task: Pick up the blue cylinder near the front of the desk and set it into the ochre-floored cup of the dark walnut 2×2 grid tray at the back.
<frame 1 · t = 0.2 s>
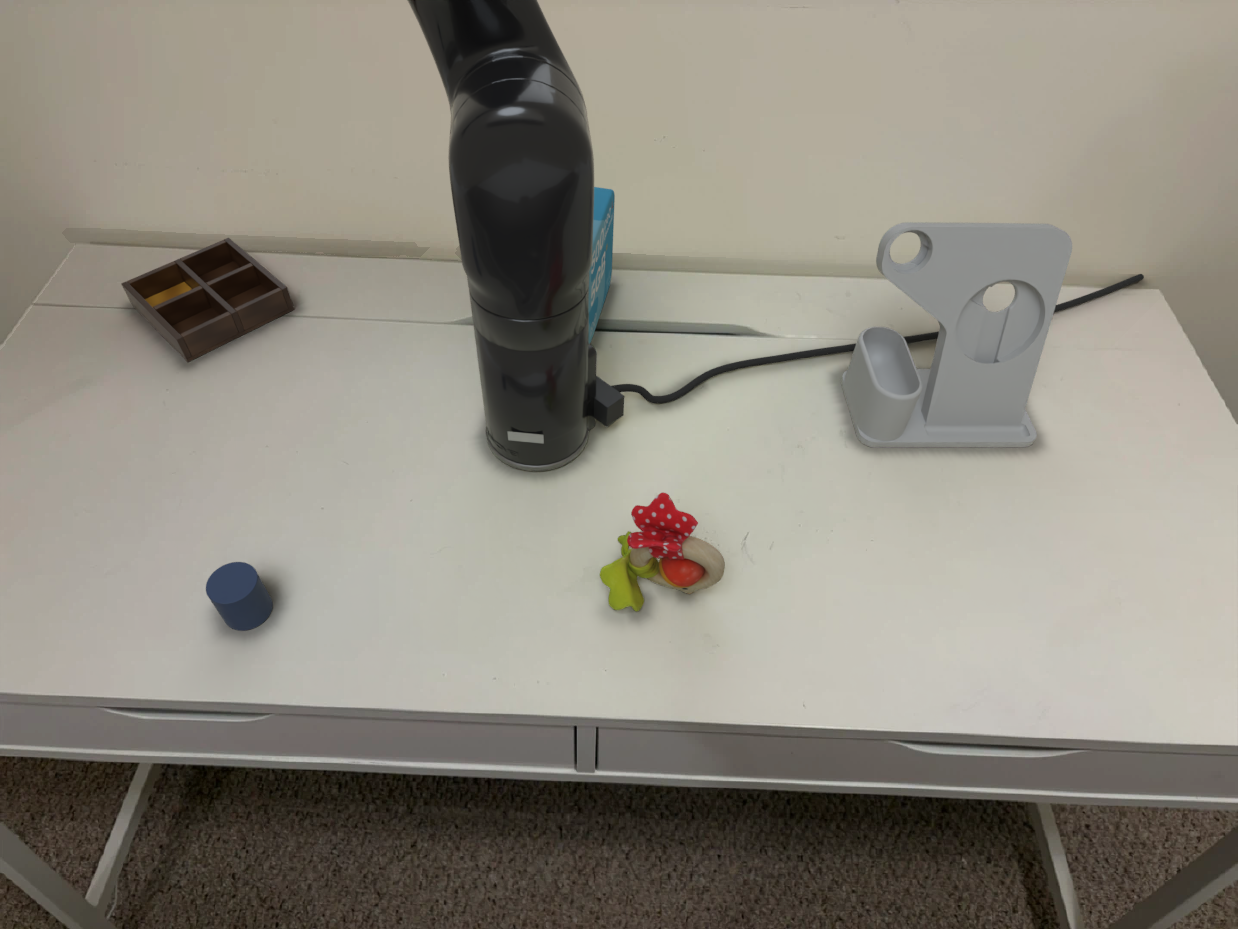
phone holder: (931, 409, 80), on the table
blue cylinder: (248, 610, 63), on the table
data package: (579, 313, 88), on the table
grid: (213, 307, 86), on the table
bird rattle: (659, 587, 66), on the table
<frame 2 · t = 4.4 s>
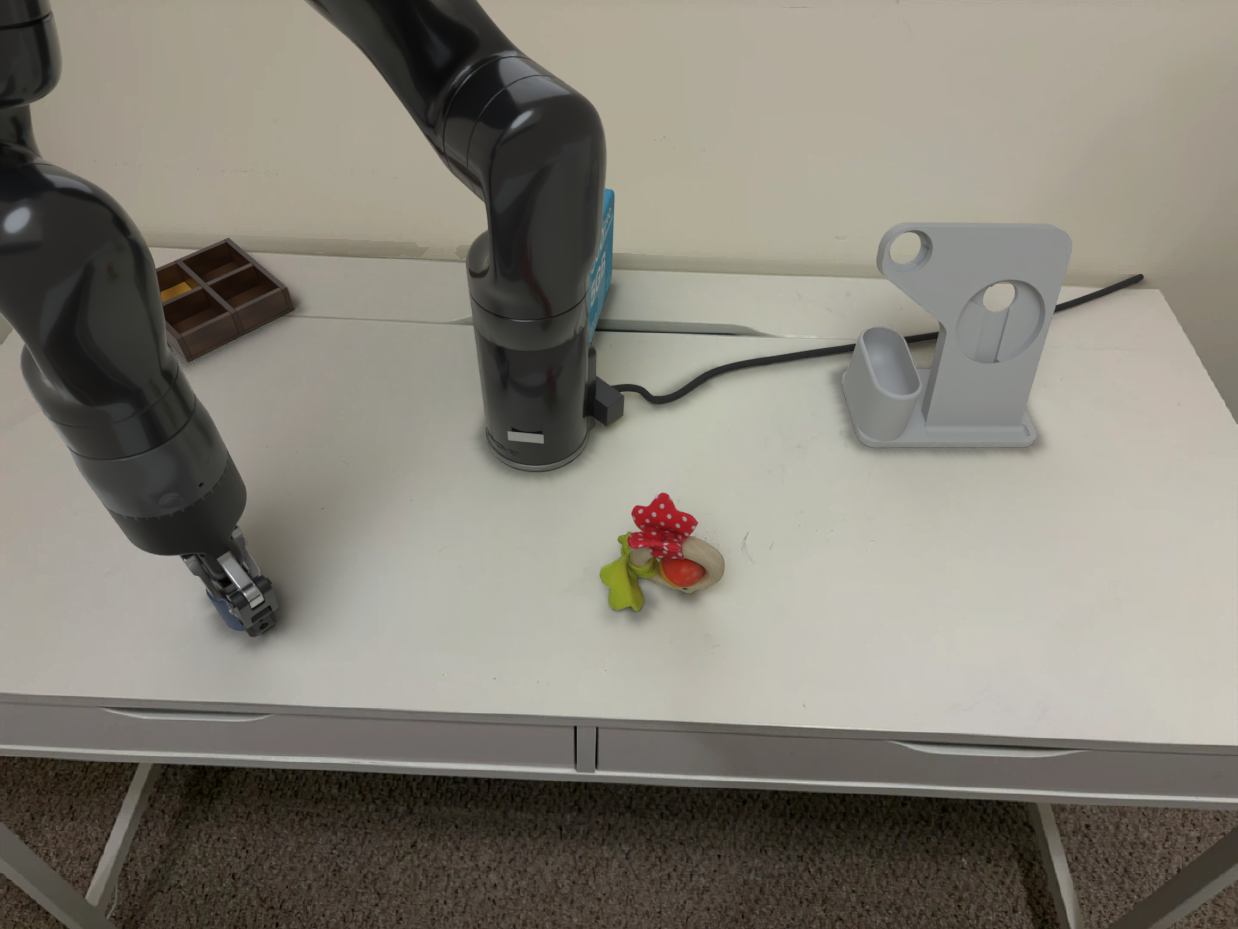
hand: (247, 608, 63), 0 cm above the table, tool pointing down, fingers closed on blue cylinder, 3 cm apart
blue cylinder: (248, 610, 63), on the table, touching gripper
everything else where it was.
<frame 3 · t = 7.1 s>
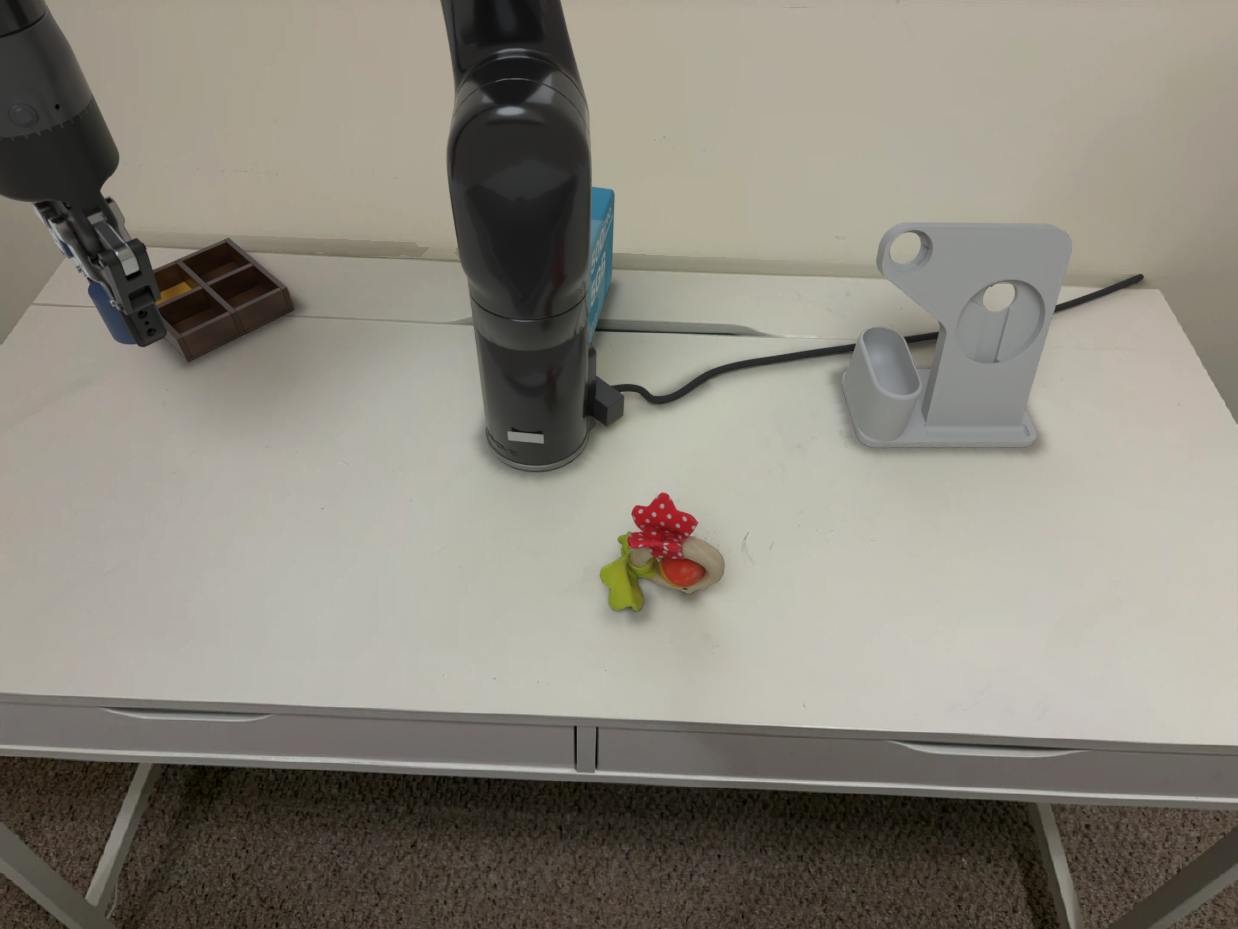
hand: (137, 325, 61), 15 cm above the table, tool pointing down, fingers closed on blue cylinder, 3 cm apart
blue cylinder: (138, 328, 61), point 15 cm above the table, touching gripper
everything else where it was.
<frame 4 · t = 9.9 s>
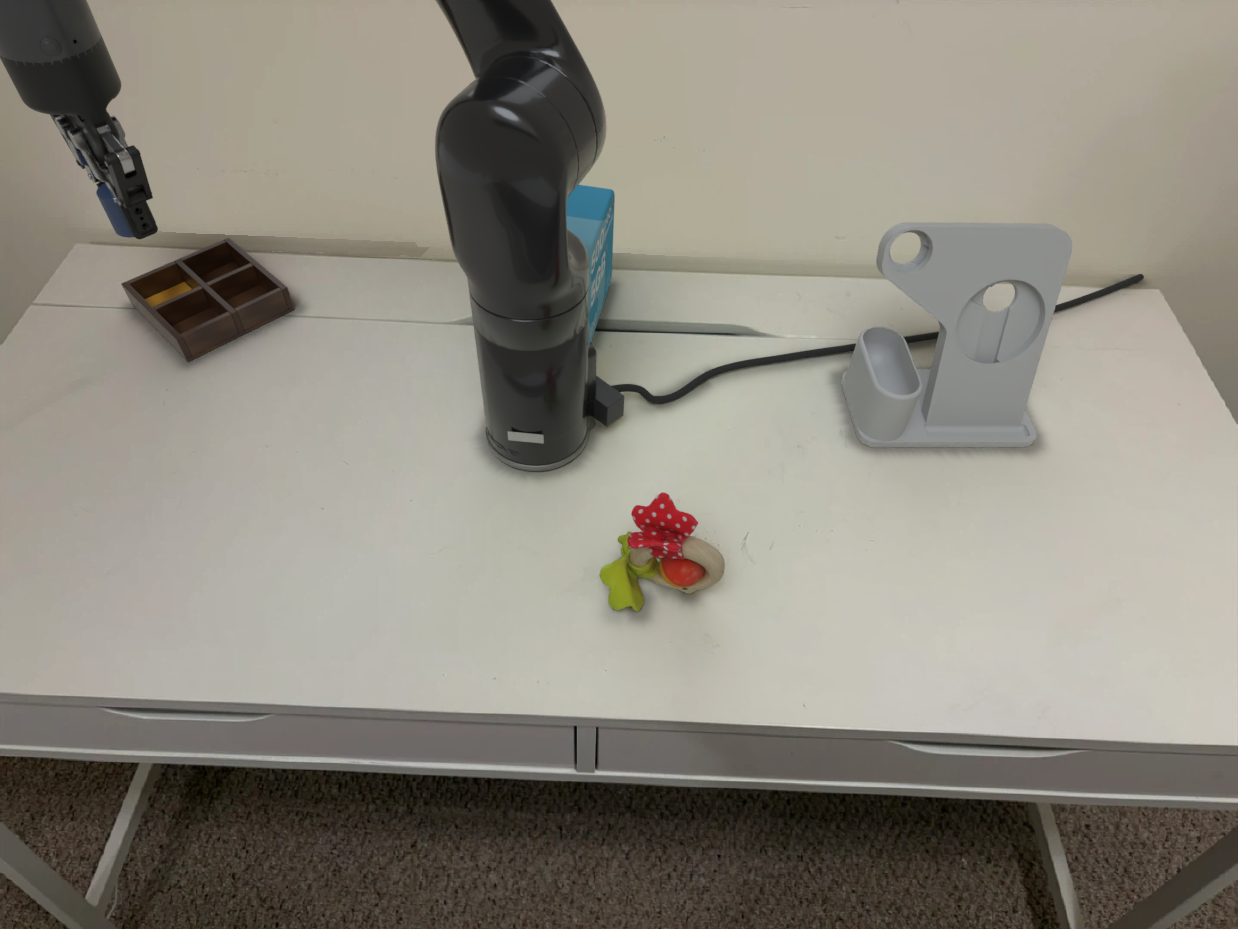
hand: (135, 224, 78), 10 cm above the table, tool pointing down, fingers closed on blue cylinder, 3 cm apart
blue cylinder: (135, 226, 78), point 10 cm above the table, touching gripper
everything else where it was.
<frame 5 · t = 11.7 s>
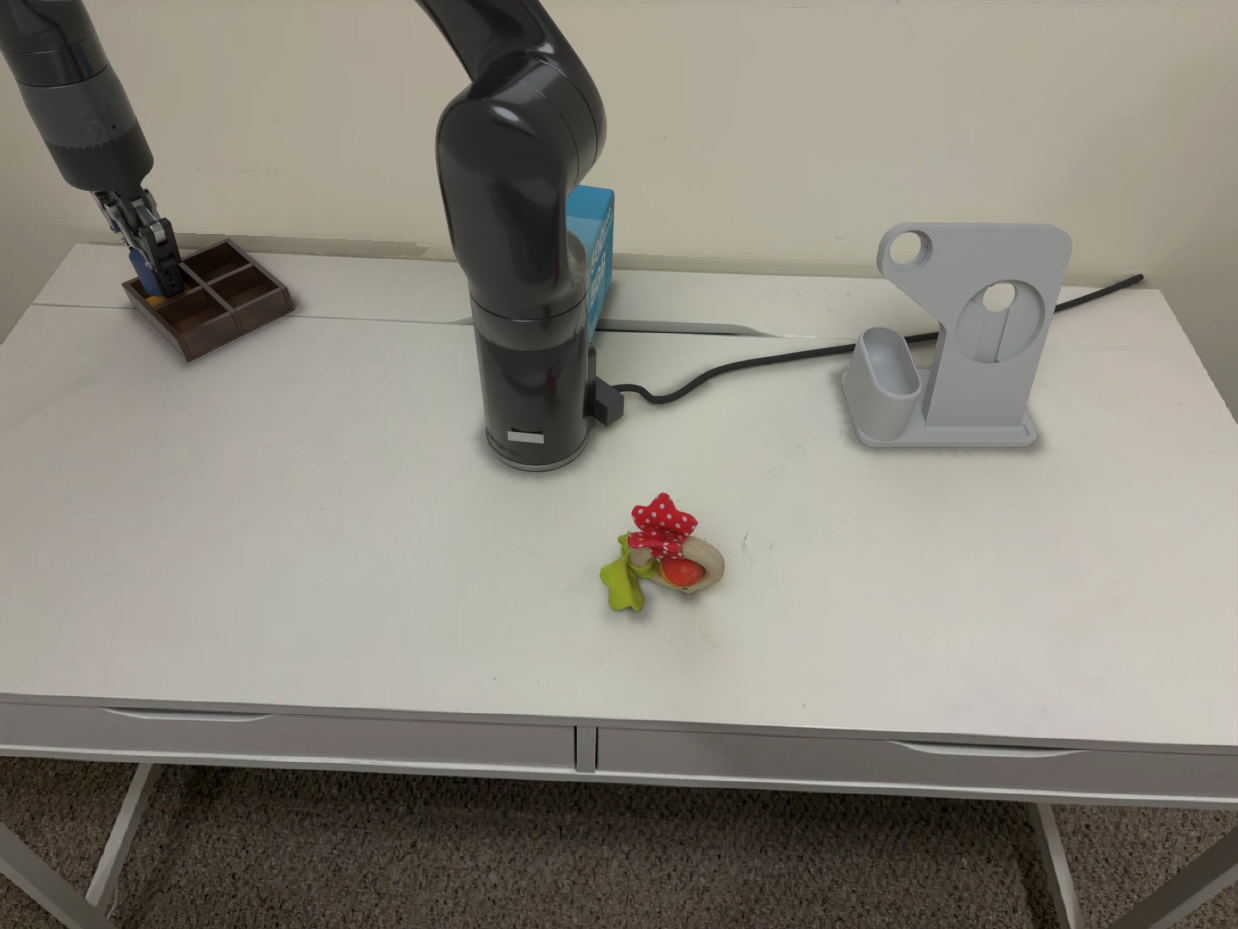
hand: (164, 283, 83), 3 cm above the table, tool pointing down, fingers closed on blue cylinder, 3 cm apart
blue cylinder: (164, 285, 84), point 3 cm above the table, touching gripper
everything else where it was.
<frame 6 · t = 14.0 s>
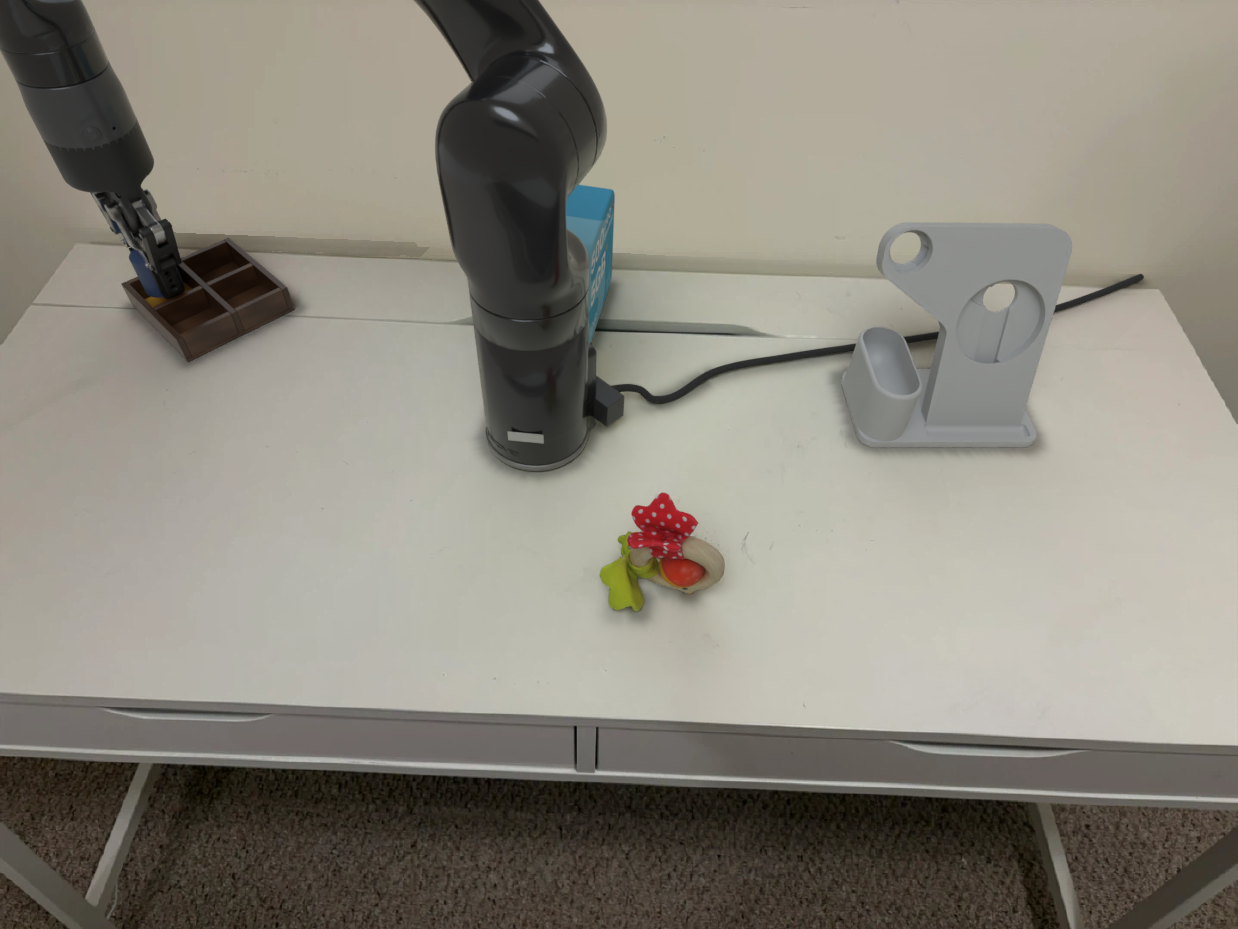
hand: (164, 284, 84), 3 cm above the table, tool pointing down, fingers closed on blue cylinder, 3 cm apart
blue cylinder: (164, 286, 84), point 3 cm above the table, touching gripper
everything else where it was.
when the fingers open (3 cm above the table, at t = 15.7 s): blue cylinder drops 2 cm, resting on grid.
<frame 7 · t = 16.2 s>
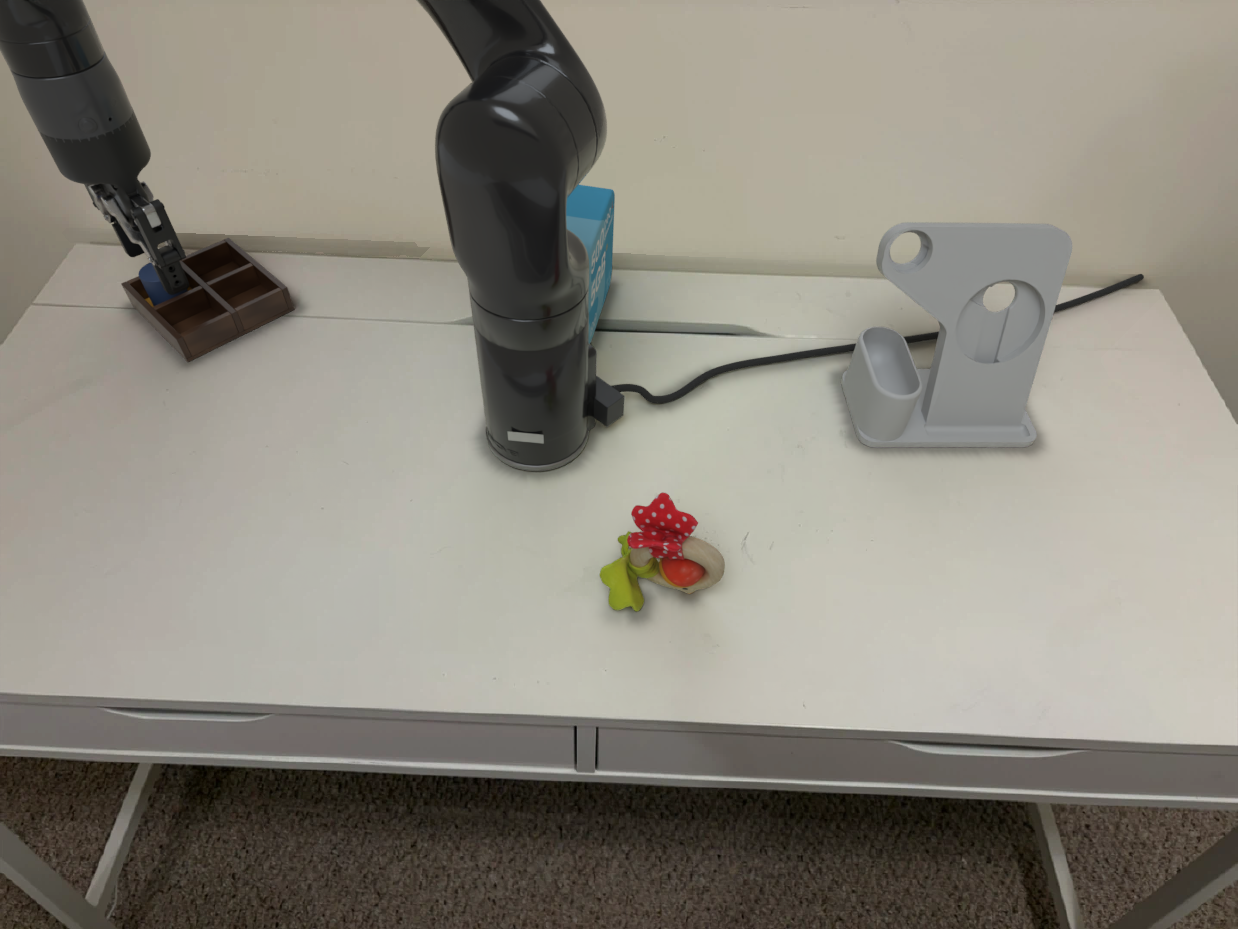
hand: (158, 270, 82), 5 cm above the table, tool pointing down, fingers open, 8 cm apart
blue cylinder: (172, 302, 85), point 1 cm above the table, touching grid
everything else where it was.
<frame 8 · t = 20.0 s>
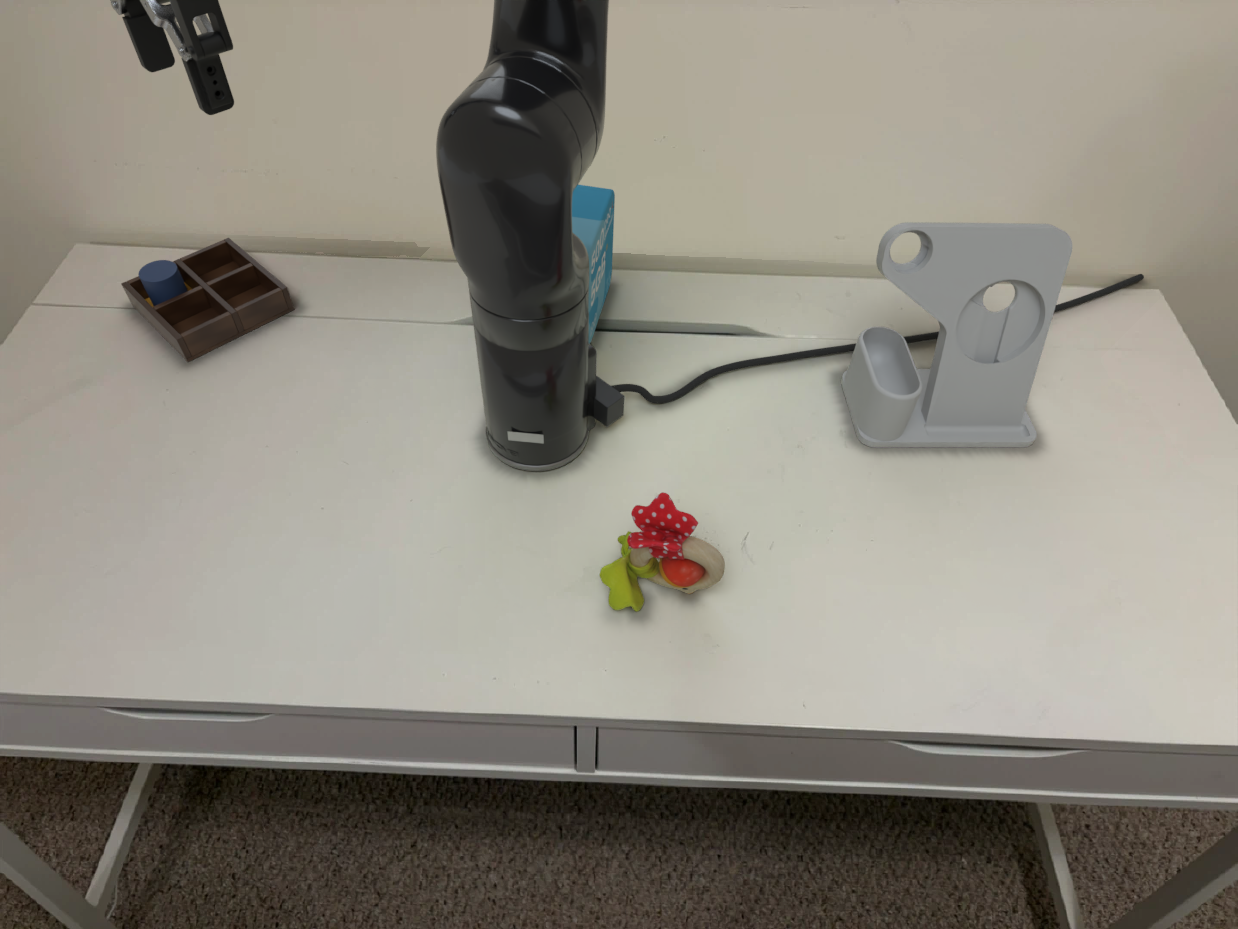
hand: (188, 88, 58), 28 cm above the table, tool pointing down, fingers open, 8 cm apart
nothing on the table moved.
at the end: blue cylinder 0.0 cm from the target spot in the grid, point 0.6 cm above the grid's base; blue cylinder tilted 0°; the gripper is holding nothing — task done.
